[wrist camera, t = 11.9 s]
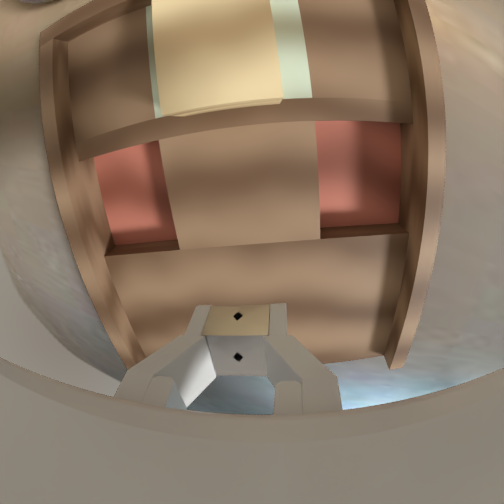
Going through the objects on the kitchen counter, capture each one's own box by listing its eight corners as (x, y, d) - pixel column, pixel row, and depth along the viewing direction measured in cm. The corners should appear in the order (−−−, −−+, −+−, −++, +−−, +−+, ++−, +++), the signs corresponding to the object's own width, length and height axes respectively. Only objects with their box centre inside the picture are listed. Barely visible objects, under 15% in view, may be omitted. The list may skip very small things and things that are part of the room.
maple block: (279, 103, 15) (283, 97, 11) (184, 116, 16) (161, 115, 12) (264, -4, 11) (263, -32, 8) (173, 12, 12) (151, -10, 8)
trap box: (389, 336, 26) (402, 367, 22) (145, 348, 28) (132, 377, 24) (392, -7, 11) (415, -27, 7) (72, 39, 14) (40, 32, 10)
